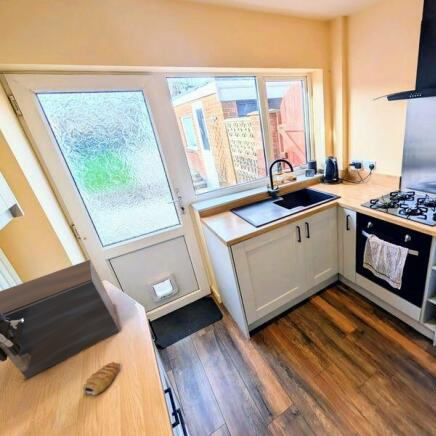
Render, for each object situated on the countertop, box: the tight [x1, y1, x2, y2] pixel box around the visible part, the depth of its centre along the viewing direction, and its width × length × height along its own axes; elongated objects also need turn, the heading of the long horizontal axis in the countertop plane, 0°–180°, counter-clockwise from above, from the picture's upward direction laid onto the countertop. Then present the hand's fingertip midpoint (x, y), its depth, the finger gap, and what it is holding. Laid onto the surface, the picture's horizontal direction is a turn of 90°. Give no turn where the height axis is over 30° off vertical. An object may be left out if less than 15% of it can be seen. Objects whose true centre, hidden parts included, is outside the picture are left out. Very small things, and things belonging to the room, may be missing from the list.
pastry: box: [82, 361, 120, 396], centre depth 76 cm, size 9×7×4 cm
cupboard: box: [0, 259, 120, 329], centre depth 90 cm, size 18×26×24 cm
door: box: [0, 280, 120, 380], centre depth 81 cm, size 7×26×24 cm, turn 130°
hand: (11, 356), depth 71 cm, fingers closed on door, 2 cm apart
